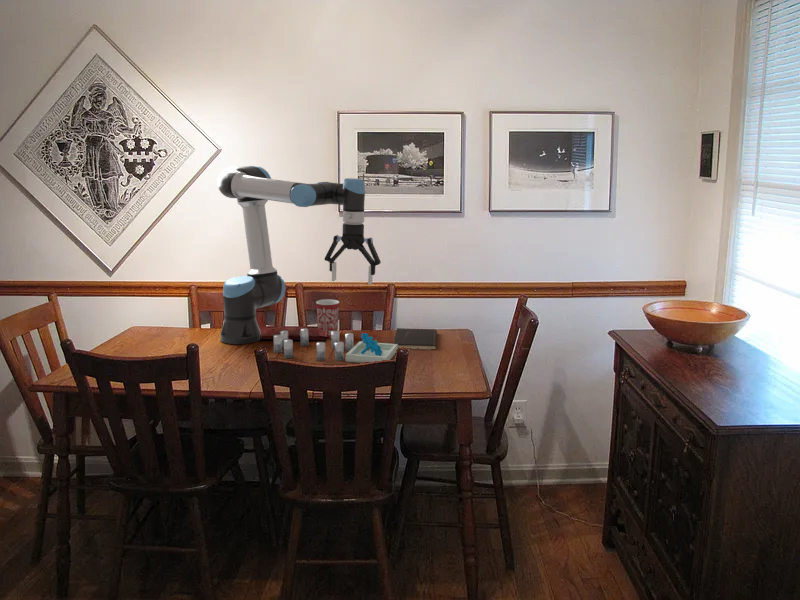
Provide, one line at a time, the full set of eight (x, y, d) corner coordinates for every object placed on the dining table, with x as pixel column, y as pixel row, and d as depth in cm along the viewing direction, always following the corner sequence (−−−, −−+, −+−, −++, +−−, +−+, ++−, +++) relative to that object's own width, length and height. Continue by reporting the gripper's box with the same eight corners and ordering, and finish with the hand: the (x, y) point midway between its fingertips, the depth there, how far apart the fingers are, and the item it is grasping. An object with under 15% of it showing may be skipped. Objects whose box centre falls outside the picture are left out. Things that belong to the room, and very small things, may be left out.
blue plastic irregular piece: (378, 355, 248) (360, 333, 250) (366, 366, 250) (348, 344, 251) (387, 351, 259) (370, 329, 260) (376, 361, 260) (358, 340, 262)
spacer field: (266, 356, 253) (266, 340, 252) (287, 342, 271) (286, 327, 270) (340, 362, 247) (340, 345, 246) (356, 347, 265) (356, 332, 264)
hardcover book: (393, 350, 265) (393, 344, 265) (396, 333, 288) (396, 328, 287) (436, 351, 264) (436, 345, 264) (436, 334, 287) (436, 329, 286)
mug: (336, 339, 277) (335, 304, 274) (313, 337, 278) (312, 303, 275) (344, 331, 289) (344, 298, 286) (322, 329, 290) (322, 296, 287)
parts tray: (345, 361, 249) (345, 354, 248) (359, 347, 265) (359, 341, 265) (386, 364, 246) (386, 357, 245) (397, 350, 262) (397, 344, 262)
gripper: (316, 221, 253) (315, 281, 258) (384, 226, 247) (382, 287, 252) (323, 219, 260) (322, 277, 265) (390, 224, 255) (388, 283, 259)
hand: (351, 282), depth 259 cm, fingers open, 13 cm apart
